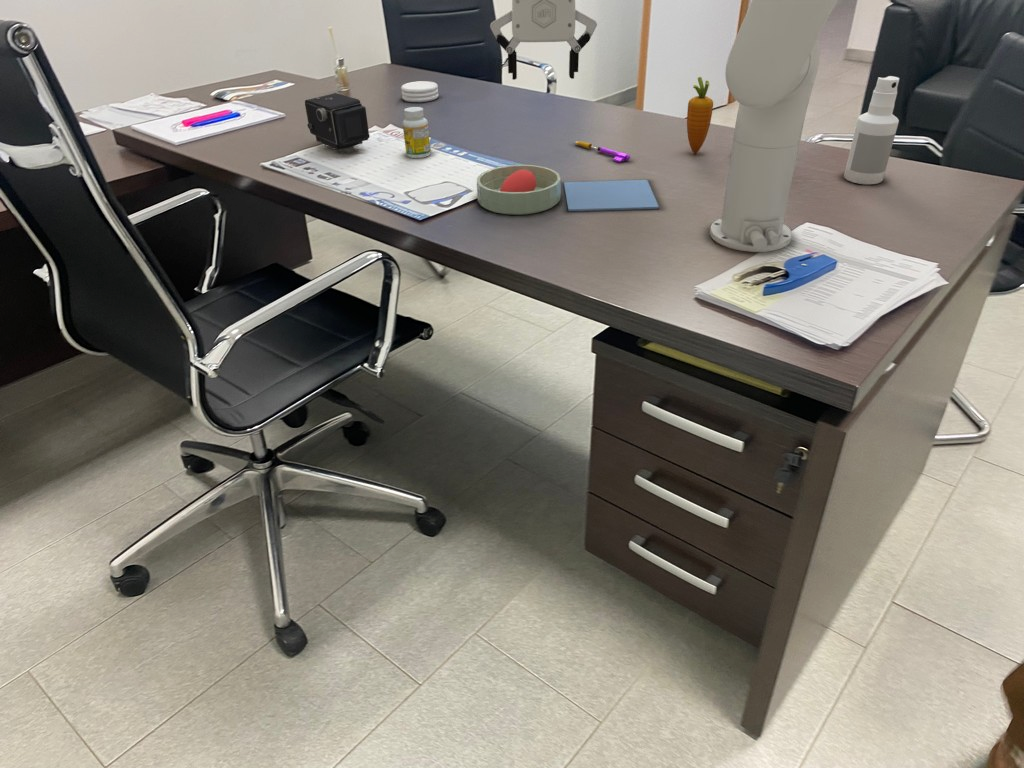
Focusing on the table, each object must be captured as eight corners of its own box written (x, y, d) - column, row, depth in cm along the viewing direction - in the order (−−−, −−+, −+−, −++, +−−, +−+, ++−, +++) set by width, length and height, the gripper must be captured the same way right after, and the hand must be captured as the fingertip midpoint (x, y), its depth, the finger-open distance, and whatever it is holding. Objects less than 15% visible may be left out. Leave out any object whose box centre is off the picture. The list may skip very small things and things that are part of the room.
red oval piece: (547, 203, 133) (544, 168, 133) (517, 199, 126) (515, 163, 126) (525, 207, 137) (522, 174, 136) (495, 204, 130) (492, 168, 129)
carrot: (707, 157, 149) (716, 81, 140) (682, 157, 150) (690, 80, 141) (706, 150, 153) (716, 75, 144) (683, 149, 154) (690, 75, 145)
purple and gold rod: (631, 159, 149) (578, 143, 159) (630, 154, 148) (577, 138, 158) (622, 165, 148) (569, 148, 158) (621, 159, 147) (568, 143, 157)
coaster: (445, 96, 199) (444, 82, 197) (423, 104, 192) (422, 90, 190) (417, 92, 203) (416, 79, 201) (394, 100, 196) (393, 87, 194)
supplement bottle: (433, 156, 155) (428, 110, 149) (408, 159, 154) (403, 113, 148) (428, 149, 159) (423, 104, 154) (404, 152, 158) (399, 107, 152)
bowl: (562, 214, 126) (562, 192, 124) (476, 216, 127) (474, 194, 124) (558, 184, 139) (558, 163, 136) (479, 186, 139) (478, 165, 137)
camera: (307, 152, 164) (341, 160, 154) (294, 100, 158) (328, 104, 148) (346, 142, 169) (382, 148, 159) (335, 90, 164) (371, 94, 154)
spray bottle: (859, 187, 132) (885, 84, 122) (836, 175, 138) (859, 75, 127) (890, 182, 134) (919, 80, 123) (866, 171, 139) (892, 72, 129)
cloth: (658, 208, 127) (659, 206, 127) (568, 211, 127) (568, 209, 127) (646, 181, 138) (647, 179, 138) (563, 184, 139) (563, 182, 138)
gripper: (487, -37, 108) (491, 83, 118) (601, -39, 108) (596, 81, 118) (489, -42, 114) (492, 73, 124) (597, -44, 114) (592, 71, 124)
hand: (543, 77), depth 121 cm, fingers open, 9 cm apart
